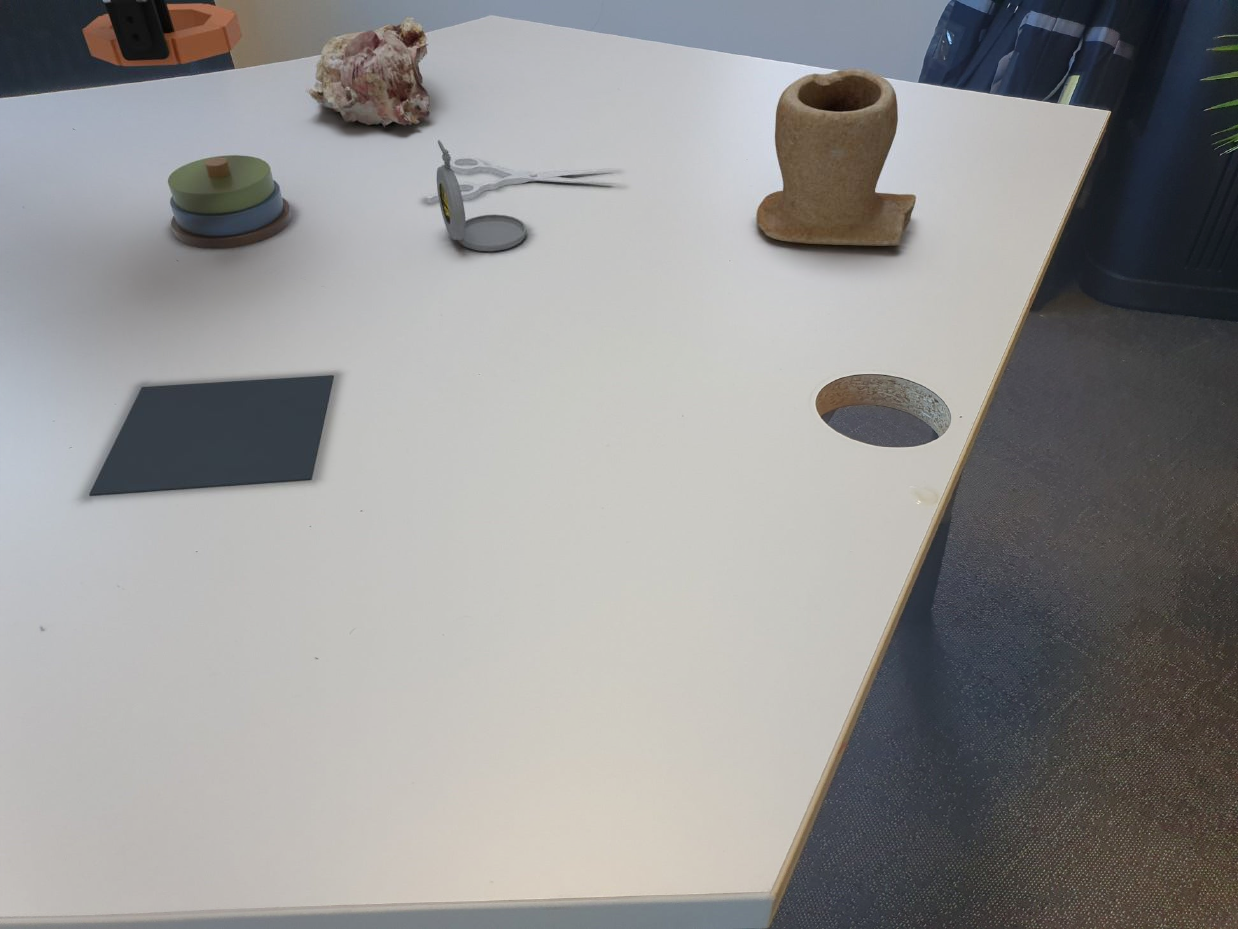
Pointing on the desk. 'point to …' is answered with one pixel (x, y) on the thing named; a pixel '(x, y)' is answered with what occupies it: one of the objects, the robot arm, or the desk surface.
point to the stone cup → (835, 163)
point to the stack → (226, 202)
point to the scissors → (509, 175)
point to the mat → (218, 435)
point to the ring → (173, 35)
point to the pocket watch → (477, 230)
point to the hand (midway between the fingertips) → (151, 51)
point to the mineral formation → (374, 75)
